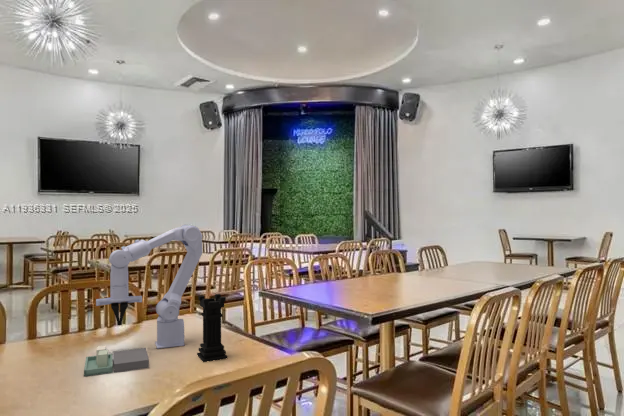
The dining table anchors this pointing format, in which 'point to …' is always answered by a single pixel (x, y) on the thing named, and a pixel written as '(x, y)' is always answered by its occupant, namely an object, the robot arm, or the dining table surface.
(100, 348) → the cream tile
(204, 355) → the chess piece
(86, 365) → the tray
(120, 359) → the charcoal board
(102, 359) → the sage tile
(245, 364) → the dining table surface
